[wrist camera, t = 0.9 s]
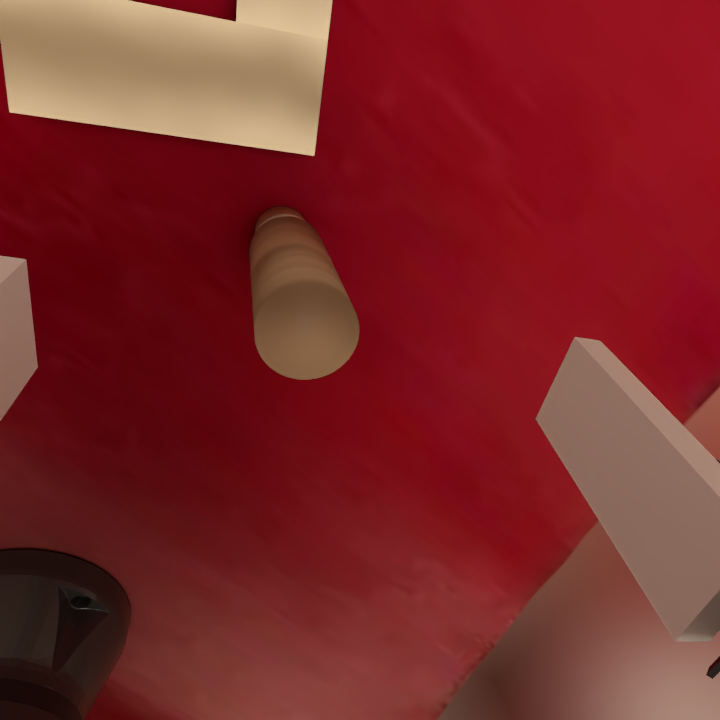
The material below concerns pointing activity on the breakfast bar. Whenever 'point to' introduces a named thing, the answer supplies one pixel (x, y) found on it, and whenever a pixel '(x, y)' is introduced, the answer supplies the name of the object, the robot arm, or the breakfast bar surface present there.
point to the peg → (298, 299)
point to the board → (171, 68)
